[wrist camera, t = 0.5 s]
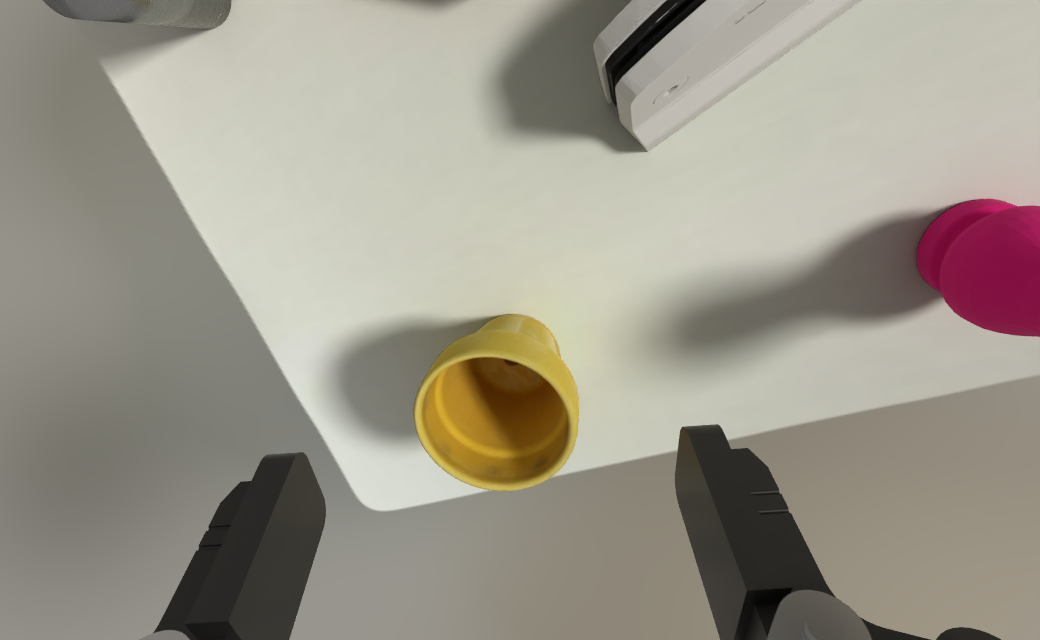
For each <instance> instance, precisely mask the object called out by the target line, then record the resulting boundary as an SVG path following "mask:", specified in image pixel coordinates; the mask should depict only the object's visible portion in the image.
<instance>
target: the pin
mask: <svg viewBox="0 0 1040 640" xmlns="http://www.w3.org/2000/svg"><path fill="white" fill-rule="evenodd" d="M43 1H44V2H45V3H46V4H47V5H48V6H49V7H50V8H52V9H53V10H54V11H56V12H58V13H59V14H61V15H63V16H65V17H68V18H72V19H81V20H94V21H107V22H121V23H134V24H147V25H161V26H174V27H188V28H201V29H212V28H216V27H218V26H220V25H221V24H222V23H223V22H224V21H225V20H226V19H227V17H228V15H229V12H230V8H231V0H43Z"/></svg>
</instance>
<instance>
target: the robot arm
mask: <svg viewBox="0 0 1040 640" xmlns="http://www.w3.org/2000/svg"><path fill="white" fill-rule="evenodd" d="M675 487H676V495H677V500H678V504H679V507H680V510H681V513H682V517H683V520H684V523H685V527H686V530H687V533H688V536H689V539H690V543H691V546H692V549H693V552H694V556H695V559H696V562H697V565H698V569H699V572H700V575H701V578H702V582H703V585H704V588H705V591H706V595H707V598H708V601H709V604H710V608H711V611H712V614H713V617H714V620H715V624H716V627H717V630H718V633H719V637H720V640H930V639H926V638H921V637H917V636H913V635H910V634H906V633H902V632H898V631H894V630H890V629H886V628H882V627H880V626H876V625H874V624H872V623H870V622H867V621H865V620H864V619H862V618H860V617H859V616H858V615H857V614H856V613H855V612H854V611H853V610H852V609H851V608H850V607H849V606H848V605H846V604H845V603H843V602H842V601H840V600H839V599H837V598H836V597H835V596H834V594H833V593H832V592H831V590H830V589H829V587H828V586H827V584H826V582H825V580H824V578H823V576H822V574H821V572H820V570H819V568H818V566H817V564H816V562H815V560H814V558H813V557H812V554H811V552H810V550H809V548H808V546H807V544H806V542H805V540H804V538H803V536H802V534H801V532H800V530H799V528H798V526H797V524H796V522H795V520H794V519H793V516H792V514H791V513H789V511H788V506H787V504H786V502H785V500H784V498H783V497H782V494H780V493H779V488H778V487H777V484H776V482H775V480H774V478H773V477H772V474H771V472H770V470H769V468H768V467H767V466H766V465H765V464H764V463H763V462H762V461H761V460H760V459H759V458H758V457H757V456H756V455H755V454H754V453H752V452H751V451H750V450H749V449H748V448H743V449H731V448H730V446H729V443H728V441H727V439H726V437H725V434H724V432H723V430H722V428H721V427H720V426H719V425H718V424H716V425H702V426H688V427H682V428H681V430H680V437H679V445H678V454H677V463H676V471H675ZM325 517H326V507H325V500H324V497H323V494H322V492H321V489H320V487H319V484H318V482H317V479H316V477H315V474H314V472H313V470H312V467H311V465H310V462H309V460H308V458H307V456H306V455H305V454H304V453H302V452H300V453H285V454H271V455H266V456H265V457H264V458H263V459H262V460H261V462H260V464H259V466H258V468H257V470H256V472H255V475H254V477H253V479H252V481H248V482H247V481H246V482H240V483H239V484H238V485H237V486H236V487H235V488H234V489H233V490H232V491H231V492H230V493H229V495H228V496H227V497H226V498H225V499H224V500H223V501H222V502H221V503H220V505H219V507H218V509H217V511H216V513H215V515H214V517H213V519H212V521H211V523H210V525H209V530H208V531H206V532H205V534H204V537H203V538H202V540H201V542H200V544H199V550H198V551H196V552H195V554H194V556H193V558H192V560H191V562H190V564H189V566H188V568H187V570H186V572H185V574H184V576H183V578H182V580H181V582H180V584H179V586H178V588H177V590H176V592H175V594H174V596H173V598H172V600H171V602H170V604H169V606H168V608H167V609H166V611H165V613H164V615H163V617H162V620H161V621H160V623H159V625H158V627H157V628H156V630H155V631H154V633H153V634H151V635H148V636H146V637H144V638H142V639H140V640H289V638H290V635H291V631H292V629H293V625H294V622H295V619H296V616H297V612H298V609H299V606H300V603H301V599H302V596H303V593H304V590H305V586H306V583H307V580H308V577H309V573H310V570H311V567H312V564H313V560H314V557H315V554H316V551H317V548H318V544H319V541H320V538H321V535H322V531H323V528H324V524H325ZM936 640H1001V639H999V638H997V637H995V636H993V635H991V634H988V633H986V632H983V631H980V630H976V629H972V628H963V627H959V628H952V629H949V630H946V631H944V632H943V633H941V634H940V636H939V637H938V638H937V639H936Z"/></svg>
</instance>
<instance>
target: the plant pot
mask: <svg viewBox="0 0 1040 640" xmlns="http://www.w3.org/2000/svg"><path fill="white" fill-rule="evenodd" d="M513 361H514V362H513ZM578 421H579V398H578V391H577V387H576V384H575V381H574V378H573V376H572V374H571V372H570V370H569V369H568V367H567V366H566V364H565V363H564V362H563V360H562V359H561V356H560V352H559V348H558V344H557V342H556V340H555V338H554V336H553V335H552V333H551V332H550V331H549V329H548V328H547V327H546V326H545V325H543V324H542V323H540V322H539V321H537V320H535V319H533V318H531V317H527V316H523V315H516V314H509V315H503V316H499V317H496V318H494V319H492V320H491V321H489V322H488V323H486V324H485V325H484V326H483V327H482V328H480V329H479V330H478V331H477V332H475V333H472V334H469V335H467V336H464V337H462V338H460V339H458V340H456V341H455V342H453V343H452V344H451V345H449V346H448V347H447V348H446V349H445V350H444V351H443V352H442V353H441V354H440V355H439V356H438V358H437V359H436V360H435V362H434V363H433V365H432V366H431V368H430V369H429V371H428V373H427V374H426V376H425V378H424V380H423V381H422V383H421V385H420V387H419V390H418V392H417V395H416V399H415V404H414V422H415V427H416V431H417V434H418V437H419V439H420V442H421V444H422V446H423V447H424V449H425V450H426V452H427V453H428V454H429V456H430V457H431V458H432V459H433V460H434V462H435V463H436V464H437V465H438V466H440V467H441V468H442V469H443V470H445V471H446V472H447V473H448V474H450V475H451V476H453V477H455V478H456V479H458V480H460V481H462V482H465V483H467V484H469V485H472V486H475V487H478V488H482V489H487V490H494V491H513V490H520V489H524V488H529V487H532V486H535V485H537V484H540V483H542V482H543V481H545V480H547V479H549V478H550V477H552V476H553V475H554V474H556V473H557V472H558V471H559V470H560V469H561V468H562V467H563V465H564V464H565V463H566V461H567V460H568V458H569V457H570V455H571V453H572V451H573V448H574V446H575V442H576V437H577V431H578Z"/></svg>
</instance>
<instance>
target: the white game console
mask: <svg viewBox="0 0 1040 640" xmlns="http://www.w3.org/2000/svg"><path fill="white" fill-rule="evenodd" d="M860 1H861V0H632V1H631V2H630V3H629V4H628V5H627V6H626V7H625V8H624V9H623V10H622V11H621V12H620V13H619V14H618V15H617V16H616V17H615V18H614V19H613V20H612V21H611V22H610V23H609V25H608V26H607V27H606V28H605V29H604V30H603V31H602V32H601V33H600V34H599V35H598V37H597V38H596V40H595V42H594V44H593V49H594V54H595V58H596V63H597V67H598V72H599V76H600V81H601V85H602V88H603V91H604V94H605V97H606V99H607V102H608V104H610V103H611V102H613V103H614V104H615V106H616V105H617V107H618V113H619V120H620V123H621V124H622V125H623V126H624V127H625V128H626V129H627V130H628V131H629V132H630V133H631V134H632V135H633V136H634V137H635V138H636V139H637V140H638V141H639V142H640V144H641V145H642V146H643V147H644V148H645V149H646V150H647V151H650V150H651V149H653V148H654V147H655V146H657V145H658V144H660V143H661V142H662V141H664V140H665V139H667V138H668V137H669V136H671V135H672V134H674V133H675V132H676V131H678V130H679V129H681V128H682V127H683V126H685V125H686V124H688V123H689V122H691V121H692V120H693V119H695V118H696V117H698V116H699V115H700V114H702V113H703V112H705V111H706V110H707V109H709V108H710V107H712V106H713V105H714V104H716V103H717V102H719V101H720V100H722V99H723V98H724V97H726V96H727V95H729V94H730V93H731V92H733V91H734V90H736V89H737V88H738V87H740V86H741V85H743V84H744V83H745V82H747V81H748V80H750V79H751V78H752V77H754V76H755V75H757V74H758V73H760V72H761V71H762V70H764V69H765V68H767V67H768V66H769V65H771V64H772V63H774V62H775V61H776V60H778V59H779V58H781V57H782V56H783V55H785V54H786V53H788V52H789V51H791V50H792V49H793V48H795V47H796V46H798V45H799V44H800V43H802V42H803V41H805V40H806V39H807V38H809V37H810V36H812V35H813V34H814V33H816V32H817V31H819V30H820V29H821V28H823V27H824V26H826V25H827V24H829V23H830V22H831V21H833V20H834V19H836V18H837V17H838V16H840V15H841V14H843V13H844V12H845V11H847V10H848V9H850V8H851V7H852V6H854V5H855V4H857V3H858V2H860Z"/></svg>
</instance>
